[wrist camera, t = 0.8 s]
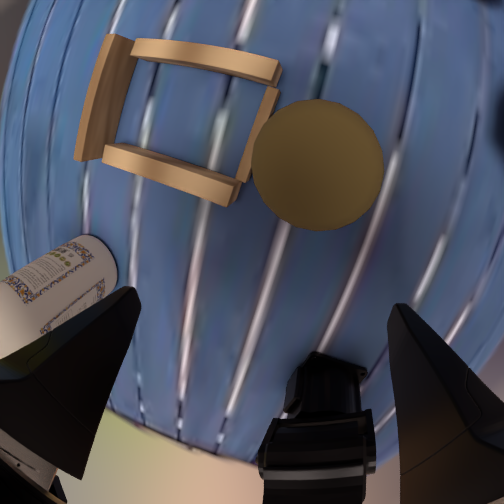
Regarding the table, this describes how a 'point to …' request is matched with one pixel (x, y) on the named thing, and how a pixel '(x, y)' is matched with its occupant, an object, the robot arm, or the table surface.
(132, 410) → the table surface
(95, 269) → the bath foam
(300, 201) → the cork
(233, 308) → the table surface
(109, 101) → the cradle
